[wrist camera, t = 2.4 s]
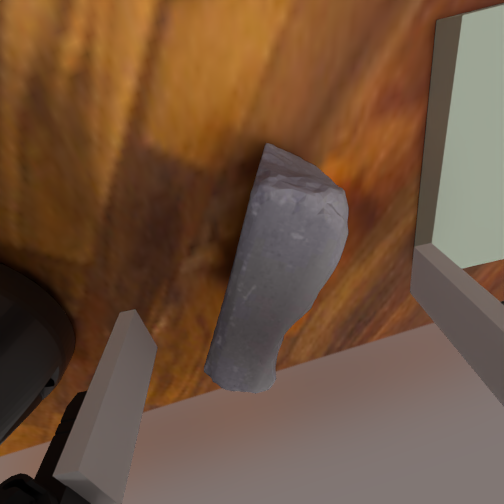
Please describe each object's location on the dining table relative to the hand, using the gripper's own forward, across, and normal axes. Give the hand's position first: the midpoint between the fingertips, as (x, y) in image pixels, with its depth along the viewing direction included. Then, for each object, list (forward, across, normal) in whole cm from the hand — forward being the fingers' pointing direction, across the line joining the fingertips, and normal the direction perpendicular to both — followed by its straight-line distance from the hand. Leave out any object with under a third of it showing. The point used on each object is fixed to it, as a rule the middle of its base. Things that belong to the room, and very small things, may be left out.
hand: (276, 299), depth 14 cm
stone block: (+8, 0, 0) cm, 8 cm away
